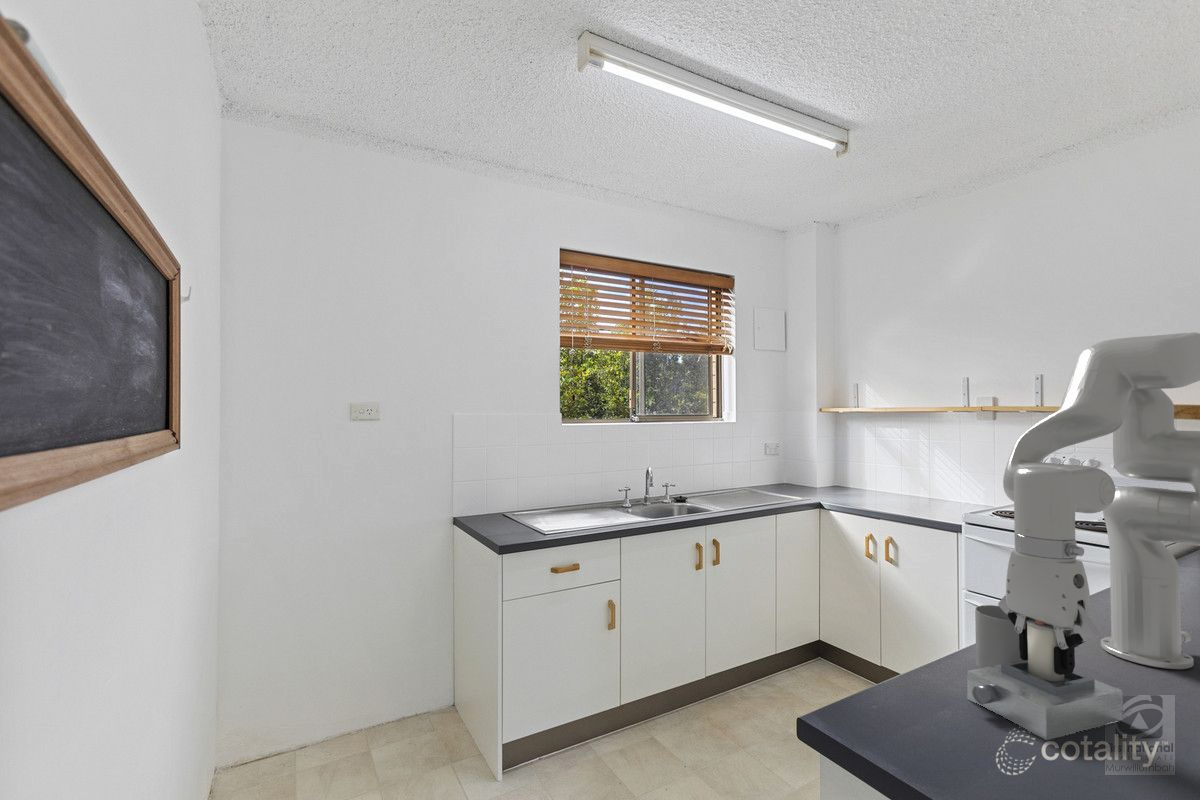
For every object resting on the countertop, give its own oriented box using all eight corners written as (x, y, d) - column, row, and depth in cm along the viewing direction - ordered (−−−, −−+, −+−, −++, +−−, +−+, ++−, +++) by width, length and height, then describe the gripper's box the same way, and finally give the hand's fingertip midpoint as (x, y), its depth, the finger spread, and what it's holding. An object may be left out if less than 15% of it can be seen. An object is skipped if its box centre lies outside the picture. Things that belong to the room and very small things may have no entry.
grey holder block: (1039, 684, 96) (1038, 650, 96) (1123, 721, 85) (1122, 682, 85) (956, 701, 90) (955, 665, 90) (1034, 743, 79) (1033, 701, 79)
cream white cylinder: (1040, 666, 91) (1039, 610, 91) (1071, 678, 87) (1070, 620, 87) (1020, 670, 90) (1019, 614, 90) (1051, 683, 85) (1049, 624, 86)
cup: (1043, 682, 97) (1042, 623, 97) (989, 678, 98) (988, 619, 99) (1017, 661, 105) (1016, 606, 105) (968, 657, 107) (967, 603, 107)
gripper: (1124, 558, 82) (1126, 687, 81) (1008, 534, 98) (1009, 642, 97) (1088, 562, 79) (1090, 695, 79) (975, 537, 96) (977, 647, 95)
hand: (1046, 664), depth 88 cm, fingers closed on cream white cylinder, 4 cm apart
